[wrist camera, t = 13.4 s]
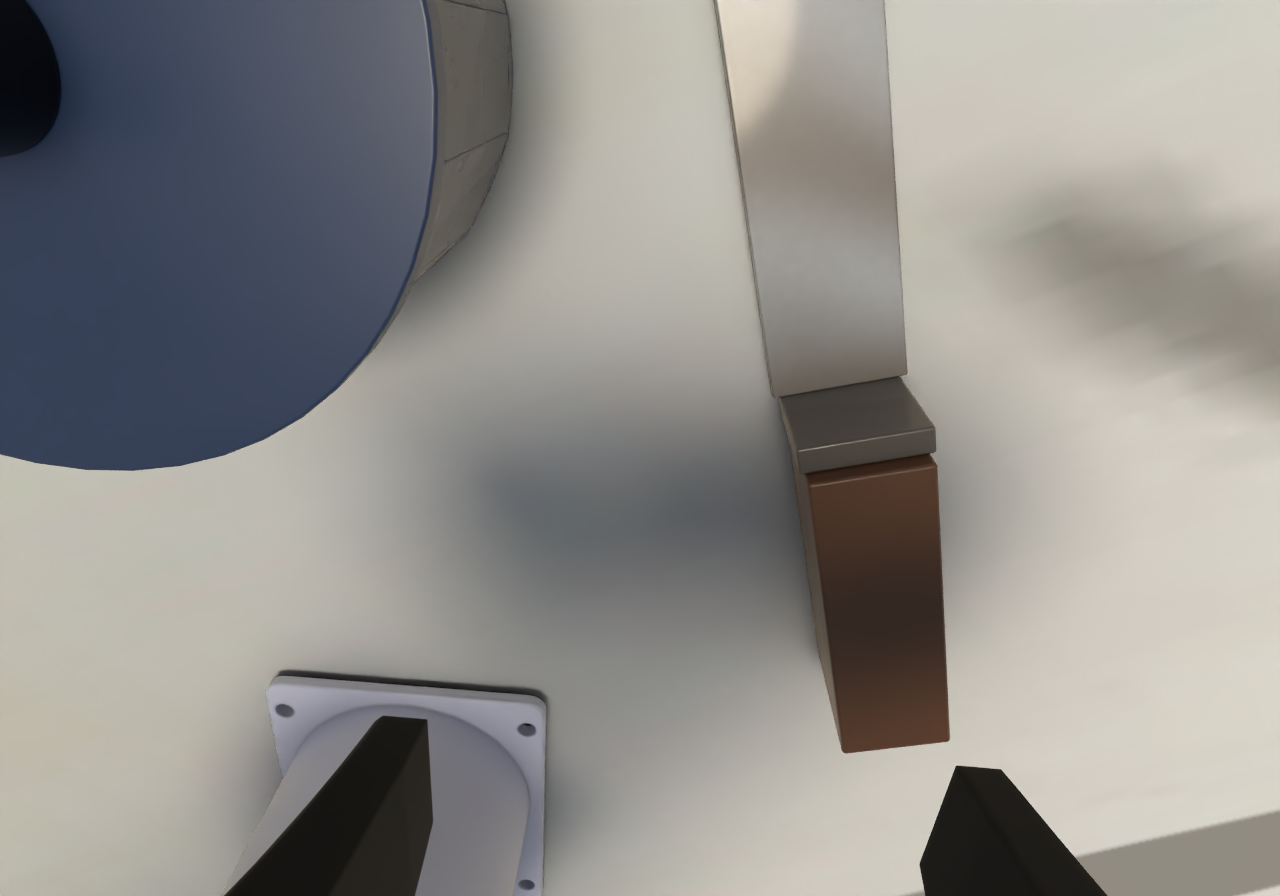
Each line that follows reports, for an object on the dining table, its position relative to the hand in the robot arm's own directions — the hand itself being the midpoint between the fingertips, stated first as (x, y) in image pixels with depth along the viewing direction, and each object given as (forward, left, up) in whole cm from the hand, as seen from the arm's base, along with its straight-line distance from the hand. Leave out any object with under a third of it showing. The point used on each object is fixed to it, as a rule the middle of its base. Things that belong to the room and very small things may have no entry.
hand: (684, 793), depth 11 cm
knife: (+3, -3, -9) cm, 10 cm away
